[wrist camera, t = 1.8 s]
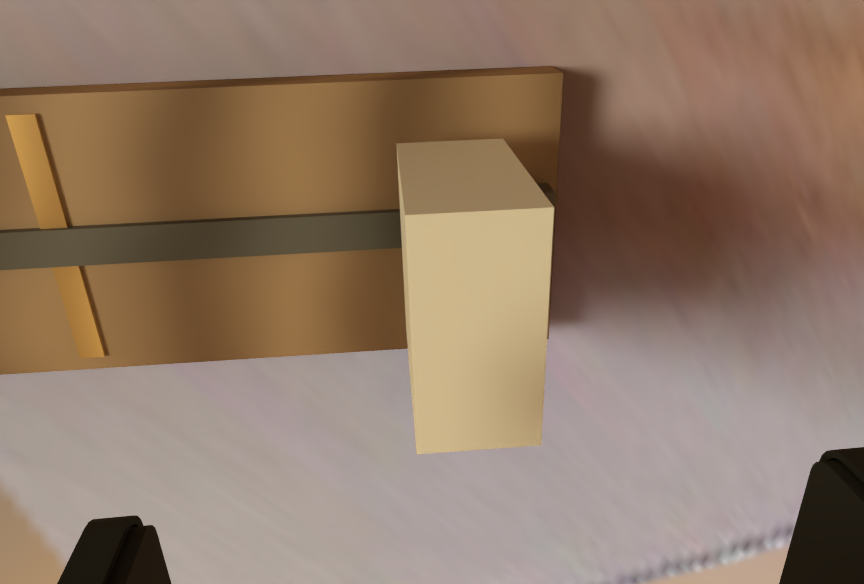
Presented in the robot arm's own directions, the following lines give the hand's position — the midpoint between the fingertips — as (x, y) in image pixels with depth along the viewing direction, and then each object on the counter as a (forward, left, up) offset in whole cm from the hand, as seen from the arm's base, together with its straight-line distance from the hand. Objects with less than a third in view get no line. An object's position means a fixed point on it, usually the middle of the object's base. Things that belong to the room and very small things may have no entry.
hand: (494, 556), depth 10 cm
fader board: (+6, +4, -15) cm, 16 cm away
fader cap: (0, -1, -13) cm, 13 cm away
